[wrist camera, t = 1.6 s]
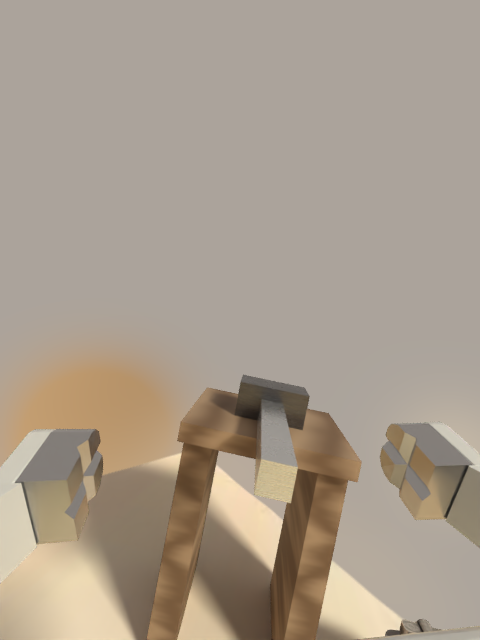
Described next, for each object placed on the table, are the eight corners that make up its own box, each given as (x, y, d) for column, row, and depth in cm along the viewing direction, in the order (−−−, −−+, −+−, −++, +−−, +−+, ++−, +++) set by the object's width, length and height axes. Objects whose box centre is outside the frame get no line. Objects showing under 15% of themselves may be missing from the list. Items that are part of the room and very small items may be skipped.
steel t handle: (214, 485, 20) (225, 428, 20) (237, 404, 38) (243, 374, 38) (331, 513, 19) (343, 454, 19) (298, 418, 37) (304, 387, 37)
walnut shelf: (134, 666, 30) (180, 421, 29) (175, 555, 44) (207, 387, 43) (308, 716, 29) (361, 462, 28) (293, 585, 43) (328, 413, 42)
